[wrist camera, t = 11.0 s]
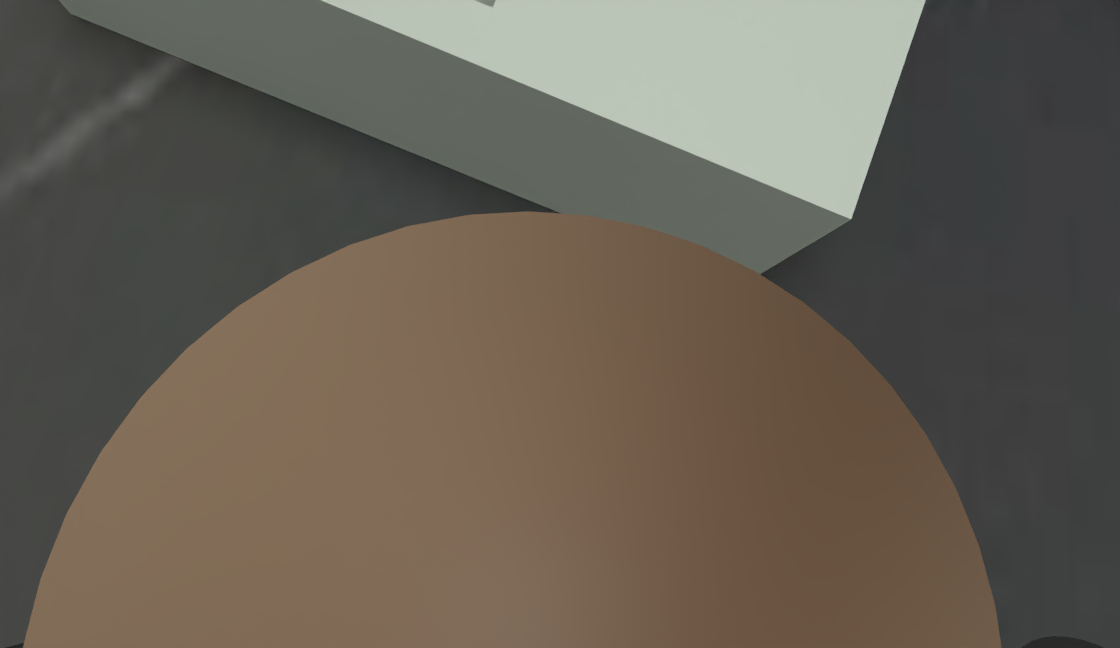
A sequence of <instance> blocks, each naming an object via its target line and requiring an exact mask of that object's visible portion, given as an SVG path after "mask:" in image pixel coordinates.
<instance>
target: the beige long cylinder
mask: <svg viewBox="0 0 1120 648" xmlns="http://www.w3.org/2000/svg"><path fill="white" fill-rule="evenodd" d="M23 648H1001V641H1000V635H999V628H998V621H997V615H996V608H995V603H994V600H993V596H992V592H991V589H990V585H989V581H988V578H987V574H986V570H985V567H984V563H983V559H982V556H981V552H980V548H979V545H978V542H977V540H976V537H975V535H974V532H973V530H972V527H971V525H970V522H969V520H968V518H967V515H966V513H965V510H964V508H963V505H962V503H961V500H960V498H959V495H958V493H957V490H956V488H955V486H954V484H953V482H952V481H951V479H950V477H949V475H948V473H947V472H946V470H945V468H944V466H943V464H942V463H941V461H940V459H939V457H938V455H937V453H936V452H935V450H934V448H933V446H932V444H931V443H930V441H929V439H928V437H927V435H926V434H925V432H924V431H923V430H922V428H921V427H920V425H919V424H918V423H917V421H916V420H915V418H914V417H913V416H912V414H911V413H910V412H909V410H908V409H907V407H906V406H905V405H904V403H903V402H902V400H901V399H900V398H899V396H898V395H897V394H896V392H895V391H894V389H893V388H892V387H891V385H890V384H889V383H888V382H887V381H886V380H885V379H884V378H883V377H882V376H881V374H880V373H879V372H878V371H877V370H876V369H875V368H874V367H873V366H872V365H871V364H870V363H869V362H868V360H867V359H866V358H865V357H864V356H863V355H862V354H861V353H860V352H859V351H858V350H857V349H856V348H855V346H854V345H853V344H852V343H851V342H850V341H849V340H848V339H846V338H845V337H844V336H843V335H842V334H840V333H839V332H838V331H837V330H836V329H834V328H833V327H832V326H831V325H830V324H829V323H827V322H826V321H825V320H824V319H823V318H821V317H820V316H819V315H818V314H817V313H815V312H814V311H813V310H812V309H811V308H810V307H808V306H807V305H806V304H805V303H803V302H802V301H800V300H799V299H797V298H796V297H794V296H792V295H791V294H789V293H788V292H786V291H785V290H783V289H782V288H780V287H779V286H777V285H776V284H774V283H772V282H771V281H769V280H768V279H766V278H765V277H763V276H762V275H760V274H759V273H757V272H755V271H754V270H751V269H749V268H747V267H745V266H743V265H741V264H739V263H737V262H735V261H733V260H731V259H729V258H727V257H725V256H722V255H720V254H718V253H716V252H714V251H712V250H710V249H708V248H706V247H704V246H702V245H699V244H696V243H693V242H690V241H687V240H684V239H681V238H678V237H675V236H672V235H669V234H666V233H663V232H660V231H657V230H654V229H651V228H648V227H644V226H639V225H634V224H629V223H624V222H619V221H614V220H609V219H604V218H598V217H593V216H588V215H574V214H560V213H545V212H531V211H526V212H509V213H492V214H475V215H465V216H460V217H455V218H449V219H444V220H439V221H433V222H428V223H423V224H417V225H412V226H407V227H404V228H401V229H398V230H395V231H392V232H389V233H386V234H383V235H380V236H377V237H373V238H370V239H367V240H364V241H361V242H358V243H355V244H352V245H349V246H347V247H345V248H342V249H340V250H338V251H336V252H334V253H332V254H330V255H328V256H325V257H323V258H321V259H319V260H317V261H315V262H313V263H311V264H308V265H306V266H304V267H302V268H300V269H298V270H296V271H294V272H292V273H290V274H288V275H287V276H285V277H284V278H282V279H280V280H279V281H277V282H276V283H274V284H273V285H271V286H269V287H268V288H266V289H265V290H263V291H262V292H260V293H258V294H257V295H255V296H254V297H252V298H250V299H249V300H247V301H246V302H244V303H243V304H241V305H239V306H238V307H237V308H235V309H234V310H233V311H232V312H231V313H229V314H228V315H227V316H226V317H224V318H223V319H222V320H221V321H220V322H218V323H217V324H216V325H215V326H214V327H212V328H211V329H210V330H209V331H207V332H206V333H205V334H204V335H203V336H201V337H200V338H199V339H198V340H197V341H195V342H194V343H193V344H192V345H191V346H189V347H188V348H187V349H186V350H185V351H184V352H183V353H182V354H181V355H180V356H179V357H178V358H177V359H176V361H175V362H174V363H173V364H172V365H171V366H170V367H169V368H168V369H167V370H166V371H165V372H164V373H163V374H162V375H161V376H160V378H159V379H158V380H157V381H156V382H155V383H154V384H153V385H152V386H151V387H150V388H149V389H148V390H147V391H146V392H145V393H144V394H143V396H142V397H141V398H140V399H139V401H138V402H137V403H136V405H135V406H134V407H133V409H132V410H131V411H130V413H129V414H128V416H127V417H126V418H125V420H124V421H123V422H122V424H121V425H120V427H119V428H118V429H117V431H116V432H115V433H114V435H113V436H112V437H111V439H110V440H109V442H108V443H107V444H106V446H105V447H104V448H103V450H102V451H101V453H100V454H99V456H98V458H97V460H96V462H95V463H94V465H93V467H92V469H91V471H90V472H89V474H88V476H87V478H86V480H85V481H84V483H83V485H82V487H81V489H80V490H79V492H78V494H77V496H76V498H75V499H74V501H73V503H72V505H71V507H70V508H69V510H68V512H67V514H66V517H65V519H64V522H63V524H62V527H61V529H60V532H59V534H58V537H57V539H56V542H55V544H54V547H53V549H52V552H51V554H50V557H49V559H48V562H47V564H46V567H45V569H44V572H43V574H42V577H41V580H40V583H39V587H38V591H37V595H36V599H35V603H34V607H33V611H32V614H31V618H30V622H29V626H28V630H27V634H26V638H25V641H24V645H23Z"/></svg>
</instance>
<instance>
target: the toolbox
mask: <svg viewBox="0 0 1120 648" xmlns="http://www.w3.org/2000/svg"><path fill="white" fill-rule="evenodd" d="M59 1H60V2H61V4H62V5H63V6H64V7H65V8H66V9H67V10H68V11H69V13H70V14H72V15H75V16H77V17H79V18H82V19H84V20H87V21H89V22H92V23H94V24H97V25H99V26H102V27H104V28H106V29H109V30H111V31H114V32H116V33H119V34H121V35H124V36H126V37H129V38H131V39H133V40H136V41H138V42H141V43H143V44H146V45H148V46H151V47H153V48H156V49H158V50H161V51H163V52H165V53H168V54H170V55H173V56H175V57H178V58H180V59H183V60H185V61H188V62H190V63H192V64H195V65H197V66H200V67H202V68H205V69H207V70H210V71H212V72H215V73H217V74H220V75H222V76H224V77H227V78H229V79H232V80H234V81H237V82H239V83H242V84H244V85H247V86H249V87H251V88H254V89H256V90H259V91H261V92H264V93H266V94H269V95H271V96H274V97H276V98H279V99H281V100H283V101H286V102H288V103H291V104H293V105H296V106H298V107H301V108H303V109H306V110H308V111H310V112H313V113H315V114H318V115H320V116H323V117H325V118H328V119H330V120H333V121H335V122H338V123H340V124H342V125H345V126H347V127H350V128H352V129H355V130H357V131H360V132H362V133H365V134H367V135H369V136H372V137H374V138H377V139H379V140H382V141H384V142H387V143H389V144H392V145H394V146H397V147H399V148H401V149H404V150H406V151H409V152H411V153H414V154H416V155H419V156H421V157H424V158H426V159H428V160H431V161H433V162H436V163H438V164H441V165H443V166H446V167H448V168H451V169H453V170H455V171H458V172H460V173H463V174H465V175H468V176H470V177H473V178H475V179H478V180H480V181H483V182H485V183H487V184H490V185H492V186H495V187H497V188H500V189H502V190H505V191H507V192H510V193H512V194H514V195H517V196H519V197H522V198H524V199H527V200H529V201H532V202H534V203H537V204H539V205H542V206H544V207H546V208H549V209H551V210H554V211H556V212H559V213H561V214H574V215H588V216H593V217H598V218H604V219H609V220H614V221H619V222H624V223H629V224H634V225H639V226H644V227H648V228H651V229H654V230H657V231H660V232H663V233H666V234H669V235H672V236H675V237H678V238H681V239H684V240H687V241H690V242H693V243H696V244H699V245H702V246H704V247H706V248H708V249H710V250H712V251H714V252H716V253H718V254H720V255H722V256H725V257H727V258H729V259H731V260H733V261H735V262H737V263H739V264H741V265H743V266H745V267H747V268H749V269H751V270H754V271H755V272H757V273H759V274H761V273H763V272H764V271H766V270H768V269H769V268H771V267H773V266H774V265H776V264H778V263H779V262H781V261H783V260H784V259H786V258H788V257H789V256H791V255H793V254H794V253H796V252H798V251H799V250H801V249H803V248H804V247H806V246H808V245H809V244H811V243H813V242H814V241H816V240H818V239H819V238H821V237H823V236H824V235H826V234H828V233H829V232H831V231H833V230H834V229H836V228H838V227H839V226H841V225H843V224H844V223H846V222H848V221H849V220H851V218H852V215H853V212H854V209H855V206H856V203H857V200H858V198H859V195H860V192H861V189H862V186H863V183H864V180H865V177H866V174H867V171H868V168H869V165H870V162H871V159H872V156H873V153H874V150H875V147H876V144H877V142H878V139H879V136H880V133H881V130H882V127H883V124H884V121H885V118H886V115H887V112H888V109H889V106H890V103H891V100H892V97H893V94H894V91H895V88H896V86H897V83H898V80H899V77H900V74H901V71H902V68H903V65H904V62H905V59H906V56H907V53H908V50H909V47H910V44H911V41H912V38H913V35H914V32H915V29H916V27H917V24H918V21H919V18H920V15H921V12H922V9H923V6H924V3H925V0H59Z"/></svg>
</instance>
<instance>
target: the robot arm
mask: <svg viewBox="0 0 1120 648" xmlns="http://www.w3.org/2000/svg"><path fill="white" fill-rule="evenodd" d="M23 645H24V643H22V644H18V645H14V646H10V647H7V648H23ZM1022 648H1103V647H1101V646H1098V645H1096V644H1093V643H1090V642H1087V641H1084V640H1080V639H1075V638H1070V637H1057V636H1053V637H1044V638H1040V639H1037V640H1034V641H1031V642H1030V643H1028V644H1027V645H1025V646H1023V647H1022Z"/></svg>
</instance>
